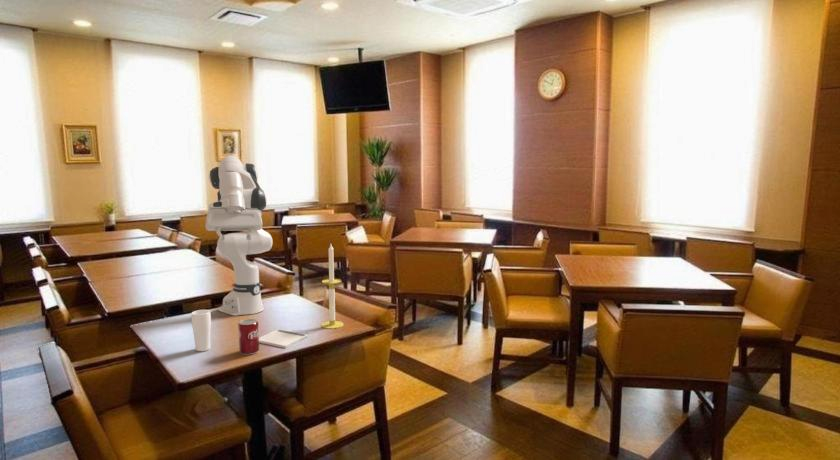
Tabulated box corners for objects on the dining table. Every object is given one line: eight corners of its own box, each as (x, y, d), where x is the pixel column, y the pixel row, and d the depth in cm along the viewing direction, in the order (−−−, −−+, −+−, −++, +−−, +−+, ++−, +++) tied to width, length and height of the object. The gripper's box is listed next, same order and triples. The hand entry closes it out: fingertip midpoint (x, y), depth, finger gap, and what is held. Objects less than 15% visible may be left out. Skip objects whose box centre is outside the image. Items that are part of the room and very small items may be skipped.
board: (254, 341, 197) (254, 339, 197) (278, 331, 210) (278, 328, 209) (285, 348, 190) (285, 345, 190) (308, 337, 203) (308, 334, 203)
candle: (337, 320, 225) (335, 240, 220) (347, 326, 217) (346, 243, 212) (317, 324, 219) (315, 242, 214) (327, 330, 211) (325, 245, 206)
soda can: (235, 355, 183) (234, 324, 182) (245, 347, 191) (244, 318, 189) (253, 356, 182) (252, 325, 181) (262, 349, 190) (261, 319, 188)
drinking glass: (205, 353, 185) (203, 315, 183) (189, 352, 186) (187, 314, 184) (216, 347, 191) (214, 310, 189) (200, 345, 193) (198, 309, 191)
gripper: (259, 212, 195) (263, 242, 189) (204, 211, 185) (206, 244, 180) (262, 204, 190) (265, 235, 185) (205, 203, 180) (207, 236, 175)
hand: (235, 239), depth 182 cm, fingers open, 8 cm apart
